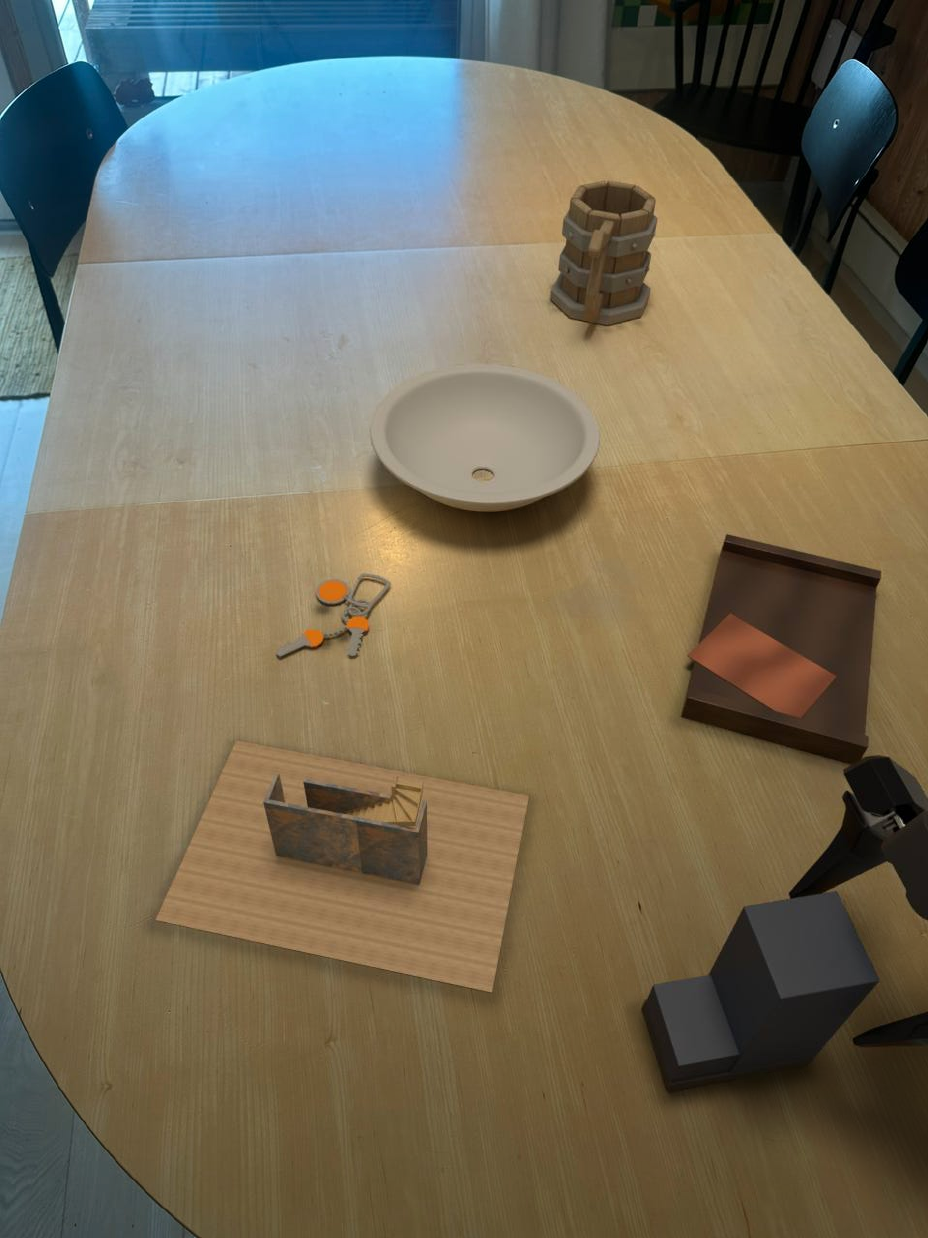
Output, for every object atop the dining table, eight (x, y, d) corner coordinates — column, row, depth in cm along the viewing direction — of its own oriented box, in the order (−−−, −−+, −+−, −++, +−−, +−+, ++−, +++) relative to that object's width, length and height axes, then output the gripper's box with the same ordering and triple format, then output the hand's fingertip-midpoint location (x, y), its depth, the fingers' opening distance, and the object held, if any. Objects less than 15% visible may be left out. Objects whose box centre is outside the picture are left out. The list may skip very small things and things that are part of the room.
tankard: (566, 270, 138) (577, 162, 126) (653, 286, 135) (673, 177, 124) (527, 341, 125) (536, 228, 114) (624, 361, 122) (643, 246, 111)
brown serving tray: (872, 590, 95) (881, 570, 93) (857, 766, 81) (868, 747, 79) (712, 551, 99) (718, 531, 97) (672, 713, 85) (677, 694, 83)
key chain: (334, 565, 96) (334, 558, 95) (402, 586, 94) (402, 579, 93) (269, 655, 88) (268, 649, 87) (342, 680, 86) (341, 674, 85)
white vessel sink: (634, 513, 102) (644, 463, 98) (427, 579, 95) (427, 529, 90) (527, 392, 117) (532, 344, 112) (340, 442, 109) (336, 392, 105)
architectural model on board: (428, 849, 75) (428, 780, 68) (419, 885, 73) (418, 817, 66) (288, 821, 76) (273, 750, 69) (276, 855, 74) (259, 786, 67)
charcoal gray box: (776, 983, 69) (837, 890, 58) (809, 1065, 65) (880, 981, 55) (641, 1007, 67) (679, 916, 57) (666, 1092, 63) (712, 1011, 53)
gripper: (930, 666, 54) (701, 800, 61) (1146, 995, 42) (830, 1119, 48) (996, 731, 61) (785, 845, 68) (1199, 1030, 49) (915, 1134, 55)
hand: (822, 967), depth 59 cm, fingers open, 9 cm apart
